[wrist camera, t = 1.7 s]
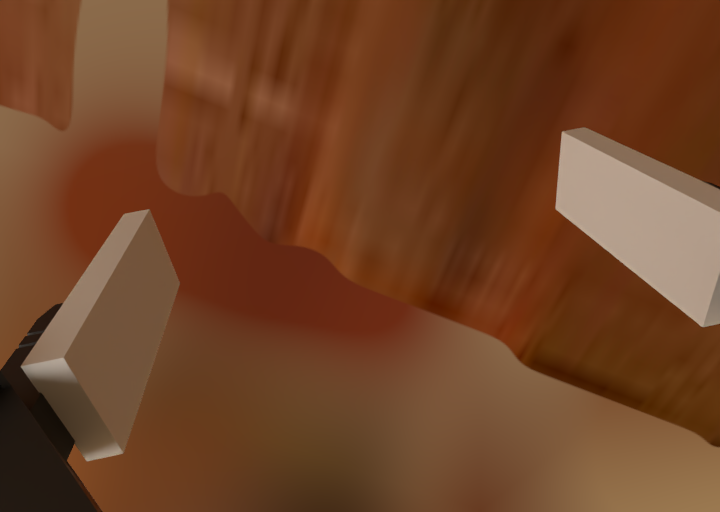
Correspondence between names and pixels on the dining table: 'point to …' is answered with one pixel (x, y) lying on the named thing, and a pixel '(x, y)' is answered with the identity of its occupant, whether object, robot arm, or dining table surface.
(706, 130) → the dining table surface
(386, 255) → the dining table surface
